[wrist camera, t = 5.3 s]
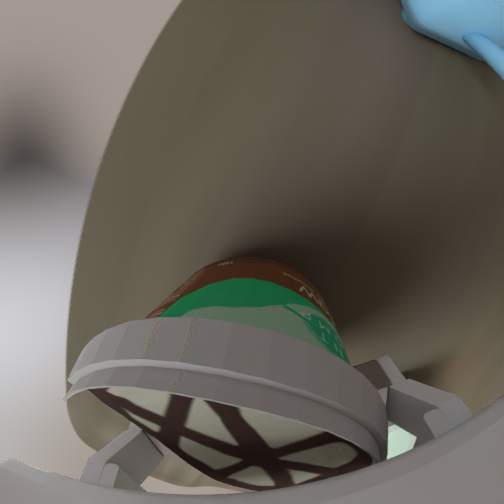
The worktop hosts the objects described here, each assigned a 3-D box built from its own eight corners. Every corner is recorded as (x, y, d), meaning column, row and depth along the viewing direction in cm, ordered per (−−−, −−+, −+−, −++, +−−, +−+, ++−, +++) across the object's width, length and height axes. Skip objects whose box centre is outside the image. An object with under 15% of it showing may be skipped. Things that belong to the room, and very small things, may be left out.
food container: (390, 332, 15) (448, 472, 6) (314, 386, 17) (320, 524, 8) (239, 180, 13) (138, 241, 4) (165, 263, 15) (49, 387, 6)
